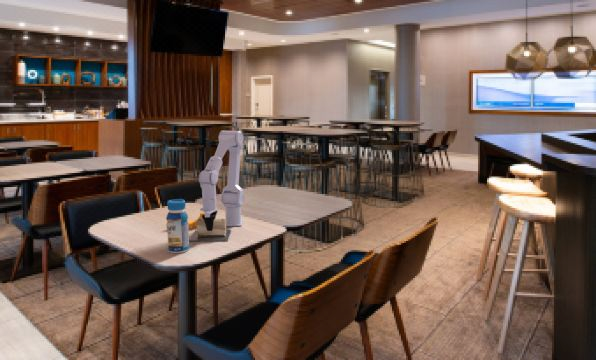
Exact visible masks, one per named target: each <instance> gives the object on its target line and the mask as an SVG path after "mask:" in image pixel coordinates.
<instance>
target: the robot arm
mask: <svg viewBox="0 0 596 360" xmlns="http://www.w3.org/2000/svg"><path fill="white" fill-rule="evenodd" d="M217 138H218V142H219V143H218V145H217V148H216V151H215V153H214V155H213V156H212V155H211V156H210V158H209V160H208V162H207V164H206V166H205V168H204V170H201V172H200V173H199V174H198V179H197V180H198V182H199V184H200V186H199V187H200V188H201V195H202V198H201V199H202V207H200V209H199V211H200V212H204V213H205V215H202V218H203V220H204V222H205V225H206V228H207V231H212V230H213V222H214V219H217V218H216V217H217V214H218V208H217V191H216V190H217V189H216V184H217V183H218V180H219V174H220V173H219V172H220V170H221V167H222V166H223V158H224V156H225V155H226V153H227V152H228V151H229V157H228V170H227V171H228V172H227V184H226V186H224V187H223V188H222V192H221V195H220V201H221V204H223V207H224V210H225V212H224V214H225V215H224V216H225V219H226V227H242V224H243V222H244V220H243V219H242V211H241V210H242V209H241V207H242V205H243V204H244V203H245V194H244V193H245V191H244V188H242V187H241V186H240V182H239V181H240V170H241V155H242V149H244V134H243V133H242V131H241V130H221V131H220V132H219V134H218V137H217Z"/></svg>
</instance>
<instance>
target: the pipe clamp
mask: <svg viewBox="0 0 596 360" xmlns="http://www.w3.org/2000/svg"><path fill="white" fill-rule="evenodd" d="M202 215H205V213H204V212H203V211H200V212H199V217H197V219H195V220H188V219H187V221H188V222H189V226H188V229H193V228H197V222H196V221H197V220H198V219H203V218H202Z"/></svg>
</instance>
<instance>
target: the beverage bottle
mask: <svg viewBox="0 0 596 360" xmlns="http://www.w3.org/2000/svg"><path fill="white" fill-rule="evenodd" d="M166 205H167V210H168V213H167V214H166V218H165V219H166V225H165V226H166V231H167V233H166V234H167V245H168V246H167V247H168V249H167V250H168V252H169V253H171V254H182V253H185V252H188V251H189V250H190V248H191V247H190V242H189V240H190V237H189V235H190V234H189V231H190V229H189V228H188V226H189V222H188V221H189V220H188V219H189V216H188V213H187V211H185V209H186V201H185V199H183V198H177V199H176V198H175V199H169V200H167V203H166ZM187 220H188V221H187Z"/></svg>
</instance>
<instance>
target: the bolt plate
mask: <svg viewBox="0 0 596 360" xmlns="http://www.w3.org/2000/svg"><path fill="white" fill-rule="evenodd" d="M231 233H232V229H226V234H225V235H197V229H195V230H194V232H193V233H192V235H191V236H190V237H189V243H193V242H194V243H195V242H196V243H197V242H198V243H201V242H202V243H205V242H228V241H229V239H230V235H231Z"/></svg>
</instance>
